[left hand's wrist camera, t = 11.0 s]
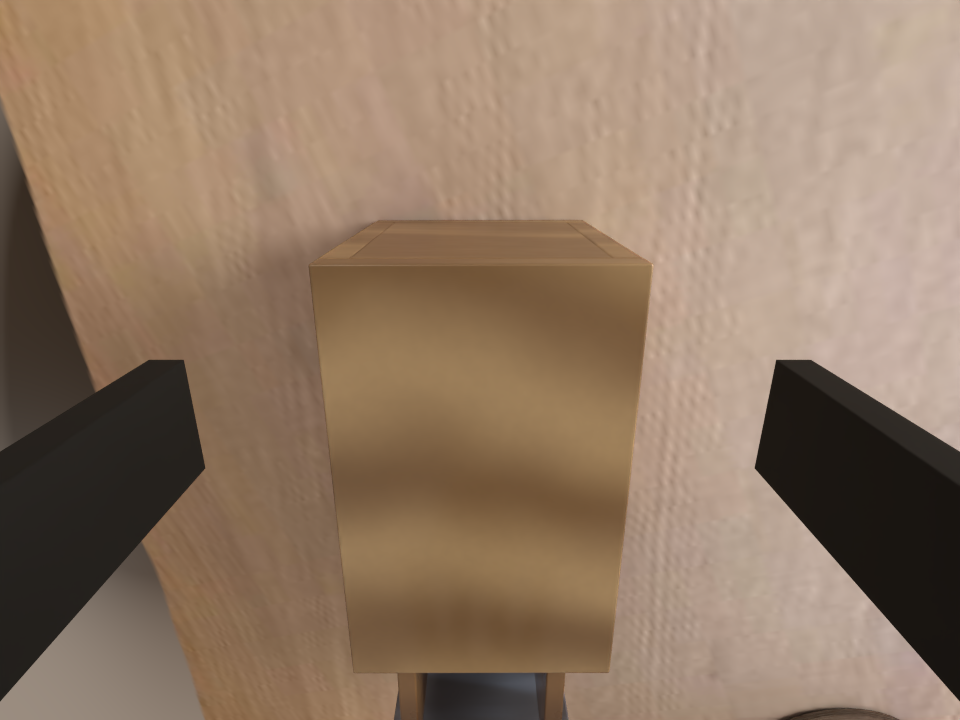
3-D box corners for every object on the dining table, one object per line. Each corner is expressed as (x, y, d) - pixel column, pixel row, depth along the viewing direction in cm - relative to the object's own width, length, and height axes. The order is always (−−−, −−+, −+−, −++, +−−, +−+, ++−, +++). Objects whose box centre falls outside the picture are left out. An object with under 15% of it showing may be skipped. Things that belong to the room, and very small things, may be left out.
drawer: (547, 698, 37) (569, 874, 28) (414, 698, 37) (393, 874, 28) (563, 417, 30) (600, 532, 21) (397, 417, 30) (361, 533, 21)
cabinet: (566, 500, 33) (609, 673, 22) (395, 500, 33) (353, 673, 22) (583, 219, 27) (654, 263, 16) (377, 220, 27) (307, 264, 16)
